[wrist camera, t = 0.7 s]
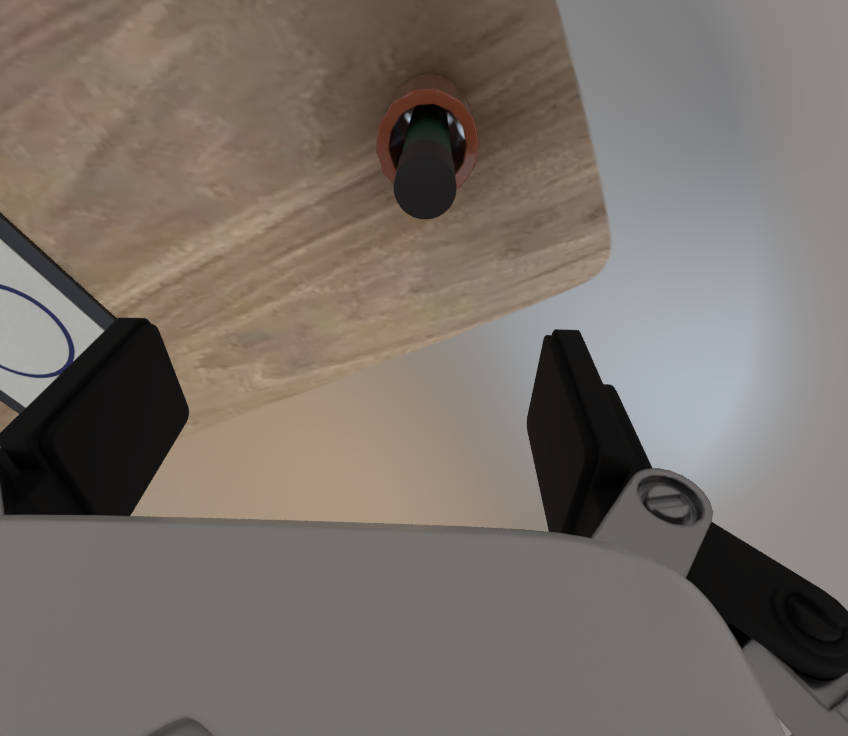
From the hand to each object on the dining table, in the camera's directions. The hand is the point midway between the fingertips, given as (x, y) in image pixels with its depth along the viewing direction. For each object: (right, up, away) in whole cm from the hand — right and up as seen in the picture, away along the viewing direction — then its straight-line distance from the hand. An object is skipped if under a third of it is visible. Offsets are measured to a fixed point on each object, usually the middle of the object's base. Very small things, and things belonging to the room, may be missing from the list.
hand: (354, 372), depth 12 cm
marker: (+2, +14, +16) cm, 22 cm away
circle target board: (-31, +3, +26) cm, 40 cm away
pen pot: (+2, +15, +16) cm, 22 cm away
